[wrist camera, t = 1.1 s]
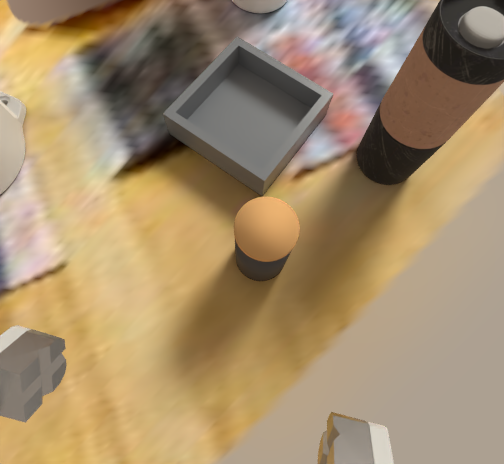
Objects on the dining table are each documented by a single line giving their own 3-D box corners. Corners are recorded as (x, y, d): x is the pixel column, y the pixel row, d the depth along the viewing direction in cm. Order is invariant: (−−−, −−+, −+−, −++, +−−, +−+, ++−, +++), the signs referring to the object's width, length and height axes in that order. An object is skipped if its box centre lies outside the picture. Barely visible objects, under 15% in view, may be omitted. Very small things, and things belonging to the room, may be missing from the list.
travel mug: (380, 198, 44) (491, 78, 25) (341, 150, 45) (415, 4, 26) (428, 167, 45) (567, 32, 26) (388, 121, 47) (490, -36, 28)
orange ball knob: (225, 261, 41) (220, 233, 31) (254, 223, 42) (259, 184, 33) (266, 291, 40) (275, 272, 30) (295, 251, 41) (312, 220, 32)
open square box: (169, 133, 45) (162, 113, 41) (237, 60, 49) (237, 36, 45) (262, 196, 43) (264, 181, 39) (325, 114, 47) (333, 94, 43)
